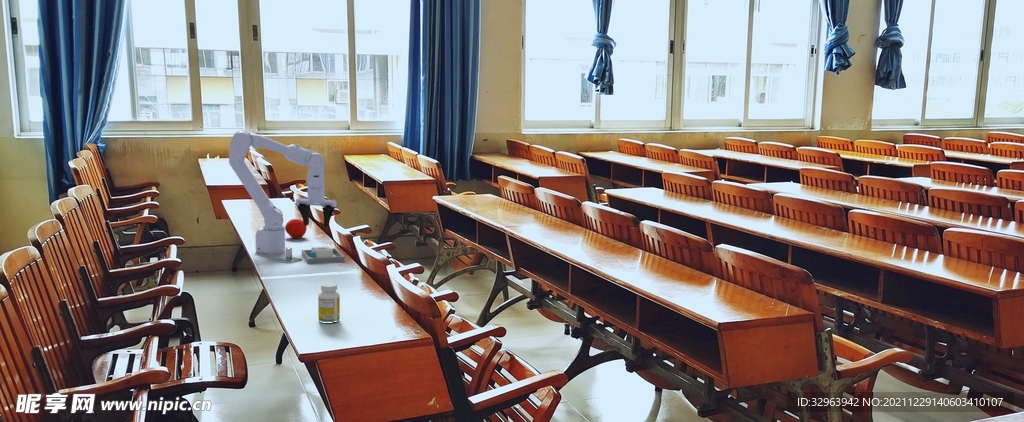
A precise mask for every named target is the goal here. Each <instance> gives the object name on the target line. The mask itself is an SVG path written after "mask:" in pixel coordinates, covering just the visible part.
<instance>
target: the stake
mask: <svg viewBox="0 0 1024 422" xmlns="http://www.w3.org/2000/svg"><path fill="white" fill-rule="evenodd" d="M302 260H303V259H302V258H301V257H294V256H293V249H292V247H285V257H279V258H277V259H276V260H275V261H276V263H280V264H281V263H282V264H295V263H299V262H302Z"/></svg>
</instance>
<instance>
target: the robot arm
mask: <svg viewBox="0 0 1024 422" xmlns="http://www.w3.org/2000/svg"><path fill="white" fill-rule="evenodd" d="M251 146H252V149H257V148H264V149H267V150H269V151H271V152H272V151H274V152H276V153H278V154H282V155H284V157H285V159H286V160H287V161H289V162H292V163H295V164H297V165H300V166H303V167H305V166H307V172H308V173H307V175H306V177H307V178H306V179H307V182H306V183H307V198H296V199H295V204H296V207H297V210H298V212H299V213H300V215H301V218H302V220H303V222H304V226H306V227H307V226H309V225H310V210H311V206H319V207H322V208H321V209H322V212H323V213H322V214H323V227H324V228H328V227H330V221H331V218H332V215H333V212H334V211H335V209H336V207H337V202H338V201H337V200H333V199H326V198H325V174H324V173H325V169H324V168H325V164H326V162H325V159H324V157H323V156H322V154H321V153H318V152H317V151H314V150H313V149H311V148H310V149H308V148H307V149H306V148H304V147H302V146H301V145H300V144H298V143H295V144H294V143H292V144H289V145H286V144H283V143H280V142H279V141H276V140H273V139H271V138H269V137H267V136H263V135H261V134H257V133H254V132H248V131H246V130H238V131H236V132H235V133H234V134H233V136H232V138H231V140H230V142H229V149H228V151H229V154H228V157H229V158H228V163H229V166H230V167H231V169H232V170H233V171H234V173H235V175H236V177H237V178H238V179H239V182H241V184H242V185H243V188H245V190H246V191H247V193H248V194H249V196H250V197H251V199H252V201H254V203H255V205H256V206H257V208H258V210H259V212H260V214H261V215H262V217H263V223H264V225H263V226H262V227H259V228H258V229H257V230H256V232H255V253H263V254H270V255H271V254H273V255H274V254H275V255H278V254H282V253H286V235H285V234H286V230H285V226H284V225H283V224H284V216H283V215H284V214H283V212H282V210H281V209H279V208H278V207H276V205H275V204H274V203H273V202H272V201H271V199H270V198H269V196H268V195H267V193H266V191H264V189H263V187H262V186H261V184H260V183H259V181H258V179H257V178H256V177H255V175H254V173H253V172H252V171H251V169H250V167H249V166H248V165H247V163H246V161H245V159H246V156H247V153H248V151H249V149H250V147H251ZM297 205H298V206H297Z"/></svg>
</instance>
